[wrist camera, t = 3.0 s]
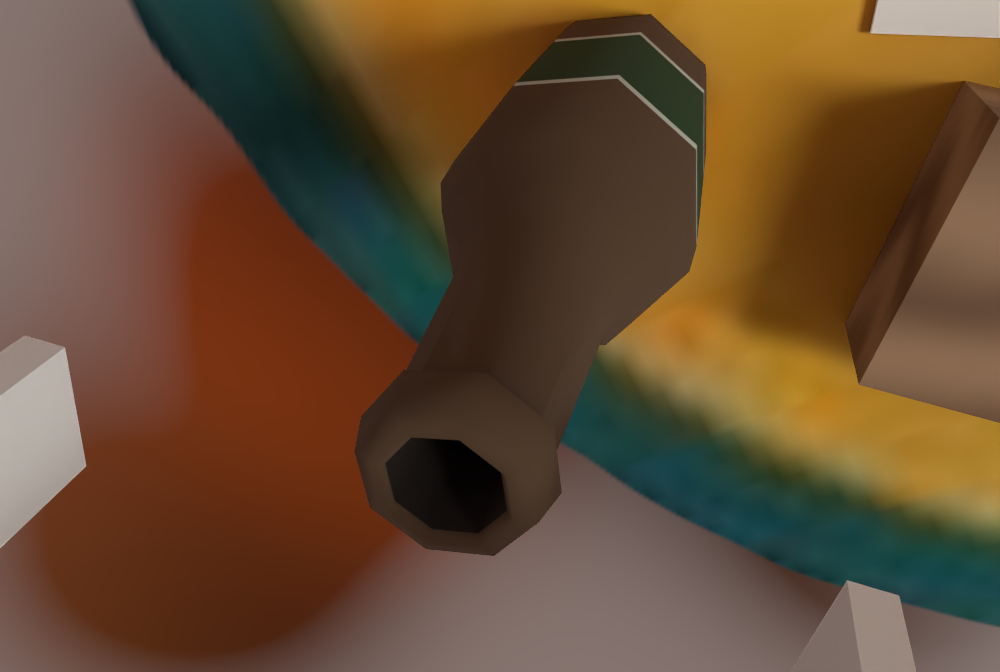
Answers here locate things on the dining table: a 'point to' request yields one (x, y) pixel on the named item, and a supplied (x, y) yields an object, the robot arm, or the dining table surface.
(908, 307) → the walnut base brick
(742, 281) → the dining table surface
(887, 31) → the page
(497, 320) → the beer bottle
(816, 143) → the dining table surface
